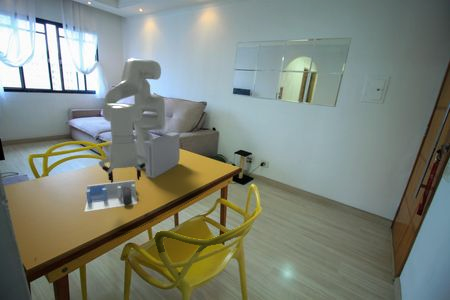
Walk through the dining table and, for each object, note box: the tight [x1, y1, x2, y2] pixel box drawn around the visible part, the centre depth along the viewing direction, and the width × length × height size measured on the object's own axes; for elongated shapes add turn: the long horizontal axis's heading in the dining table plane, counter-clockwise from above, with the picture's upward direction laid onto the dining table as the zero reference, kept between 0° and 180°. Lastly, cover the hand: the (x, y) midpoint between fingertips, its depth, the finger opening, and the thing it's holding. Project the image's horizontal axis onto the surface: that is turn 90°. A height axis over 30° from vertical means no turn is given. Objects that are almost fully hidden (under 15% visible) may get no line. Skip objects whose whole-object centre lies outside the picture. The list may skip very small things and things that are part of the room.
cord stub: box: [123, 187, 132, 206], centre depth 94 cm, size 10×3×3 cm, turn 25°
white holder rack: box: [84, 179, 138, 213], centre depth 93 cm, size 16×19×6 cm
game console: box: [145, 131, 181, 179], centre depth 126 cm, size 6×27×20 cm, turn 162°
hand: (125, 180), depth 87 cm, fingers open, 9 cm apart
